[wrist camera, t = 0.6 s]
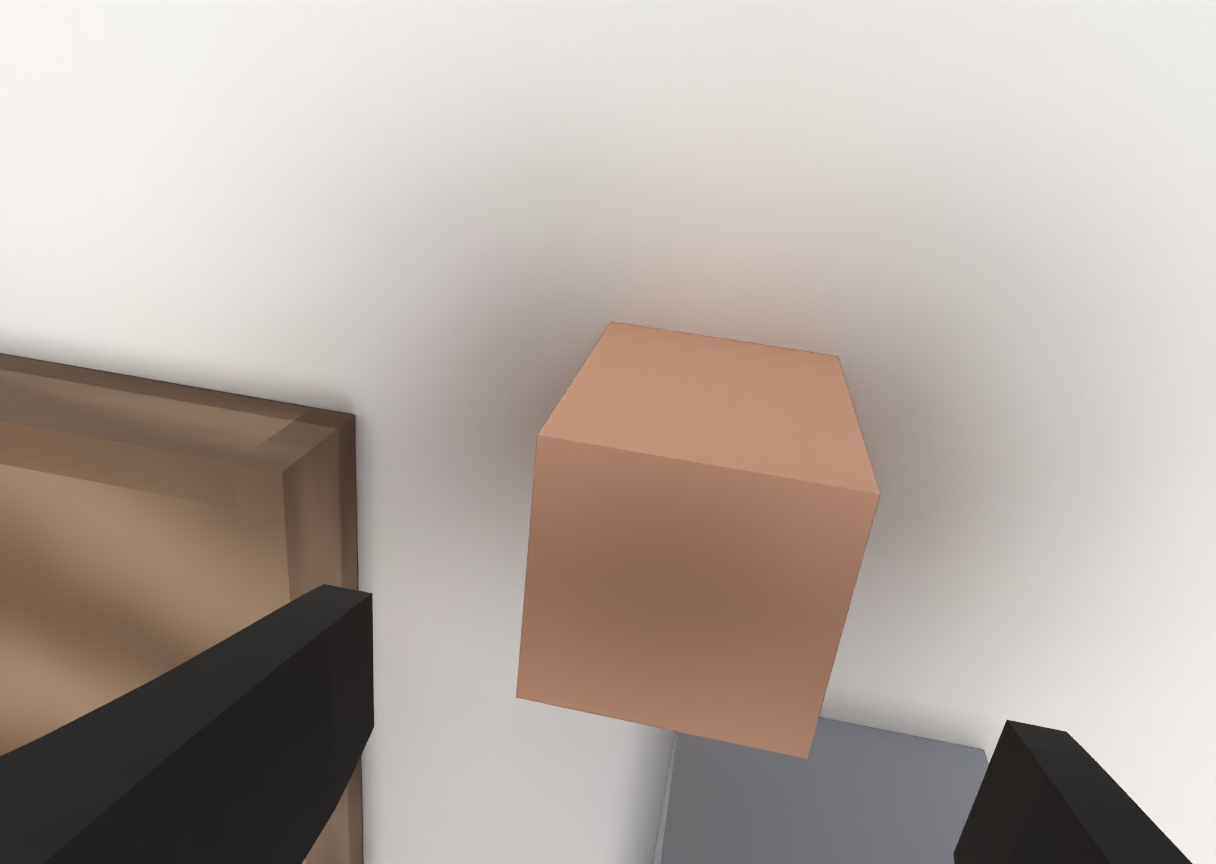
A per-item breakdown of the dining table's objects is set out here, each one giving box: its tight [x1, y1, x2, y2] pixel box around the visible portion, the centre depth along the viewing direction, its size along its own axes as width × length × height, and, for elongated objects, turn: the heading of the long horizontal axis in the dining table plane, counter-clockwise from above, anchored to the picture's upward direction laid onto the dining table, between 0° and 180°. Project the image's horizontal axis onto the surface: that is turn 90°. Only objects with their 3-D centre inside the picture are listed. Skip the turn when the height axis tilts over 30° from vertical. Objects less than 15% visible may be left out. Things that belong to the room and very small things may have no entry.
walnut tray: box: [0, 354, 363, 864], centre depth 20 cm, size 14×14×3 cm
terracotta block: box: [516, 322, 880, 759], centre depth 14 cm, size 4×4×6 cm
